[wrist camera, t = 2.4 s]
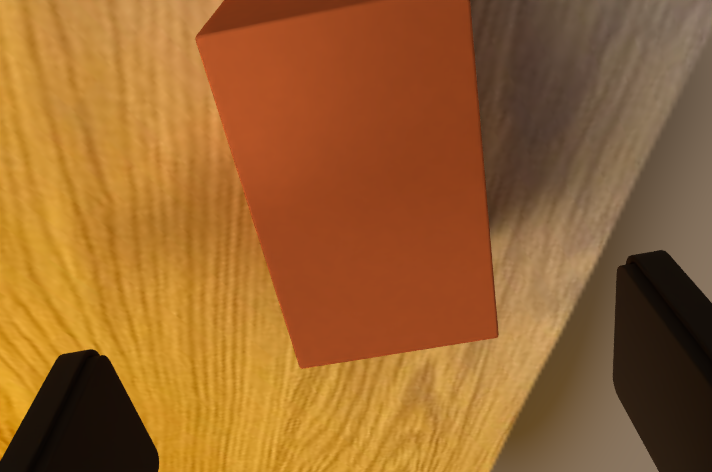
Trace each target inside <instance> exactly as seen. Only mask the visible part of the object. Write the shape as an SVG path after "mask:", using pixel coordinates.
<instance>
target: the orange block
mask: <svg viewBox="0 0 712 472" xmlns="http://www.w3.org/2000/svg"><path fill="white" fill-rule="evenodd" d="M196 43H197V46H198V49H199V52H200V55H201V58H202V61H203V65H204V68H205V71H206V74H207V77H208V80H209V83H210V87H211V90H212V93H213V96H214V99H215V102H216V106H217V109H218V112H219V115H220V118H221V121H222V124H223V128H224V131H225V134H226V137H227V140H228V143H229V146H230V150H231V153H232V156H233V159H234V162H235V165H236V168H237V172H238V175H239V178H240V181H241V184H242V187H243V190H244V194H245V197H246V200H247V203H248V206H249V209H250V212H251V216H252V219H253V222H254V225H255V228H256V231H257V235H258V238H259V241H260V244H261V247H262V250H263V253H264V257H265V260H266V263H267V266H268V269H269V272H270V275H271V279H272V282H273V285H274V288H275V291H276V294H277V297H278V301H279V304H280V307H281V310H282V313H283V316H284V319H285V323H286V326H287V329H288V332H289V335H290V338H291V341H292V345H293V348H294V351H295V354H296V357H297V360H298V364H299V366H300V368H302V369H303V368H309V367H316V366H322V365H328V364H335V363H341V362H347V361H353V360H360V359H366V358H372V357H379V356H385V355H391V354H397V353H404V352H410V351H416V350H423V349H429V348H435V347H442V346H448V345H454V344H460V343H467V342H473V341H479V340H486V339H492V338H497V337H498V335H499V334H498V323H497V311H496V299H495V287H494V276H493V264H492V252H491V241H490V229H489V217H488V205H487V194H486V182H485V170H484V159H483V147H482V135H481V123H480V112H479V100H478V88H477V77H476V65H475V53H474V41H473V30H472V18H471V6H470V0H224V1H223V3H222V4H221V5H220V6H219V8H218V9H217V10H216V11H215V13H214V14H213V15H212V17H211V18H210V19H209V20H208V22H207V23H206V24H205V25H204V27H203V28H202V29H201V30H200V32H199V33H198V34H197V36H196Z"/></svg>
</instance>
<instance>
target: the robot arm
mask: <svg viewBox="0 0 712 472" xmlns="http://www.w3.org/2000/svg"><path fill="white" fill-rule="evenodd" d="M613 382H614V386H615V390H616V393H617V395H618V397H619V399H620V401H621V403H622V405H623V407H624V408H625V410H626V412H627V414H628V416H629V417H630V419H631V421H632V423H633V425H634V427H635V429H636V430H637V432H638V434H639V436H640V438H641V440H642V441H643V443H644V445H645V447H646V449H647V451H648V452H649V454H650V456H651V458H652V460H653V462H654V463H655V465H656V467H657V469H658V471H659V472H712V303H711V302H710V301H709V299H708V298H707V297H706V296H705V295H704V294H703V293H702V291H701V290H700V289H699V288H698V287H697V286H696V285H695V283H694V282H693V281H692V280H691V279H690V278H689V277H688V276H687V274H686V273H684V271H683V270H682V269H681V268H680V266H679V265H678V264H677V263H676V262H675V261H674V260H673V258H672V257H671V256H670V255H669V254H668V253H667V252H666V251H663V250H659V251H654V252H648V253H642V254H636V255H631V256H629V257H628V259H627V261H626V265H622V266H619V267H618V269H617V281H616V306H615V333H614V359H613ZM158 469H159V456H158V452H157V449H156V447H155V446H154V444H153V442H152V440H151V438H150V436H149V434H148V432H147V430H146V428H145V426H144V425H143V423H142V421H141V419H140V417H139V415H138V413H137V411H136V409H135V407H134V406H133V404H132V402H131V400H130V398H129V396H128V394H127V392H126V390H125V388H124V387H123V385H122V383H121V381H120V379H119V377H118V375H117V373H116V371H115V369H114V367H113V366H112V364H111V362H110V360H109V359H108V357H106V356H105V355H101V356H100V355H99V353H98V352H97V351H95V350H91V349H90V350H84V351H78V352H73V353H67V354H62V355H60V356H59V357H58V358H57V360H56V361H55V363H54V365H53V367H52V368H51V370H50V372H49V374H48V376H47V377H46V379H45V381H44V383H43V385H42V386H41V388H40V390H39V392H38V394H37V396H36V397H35V399H34V401H33V403H32V405H31V406H30V408H29V410H28V412H27V414H26V415H25V417H24V419H23V421H22V423H21V424H20V426H19V428H18V430H17V432H16V434H15V435H14V437H13V439H12V441H11V443H10V444H9V446H8V448H7V450H6V452H5V453H4V455H3V457H2V459H1V461H0V472H158Z"/></svg>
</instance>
